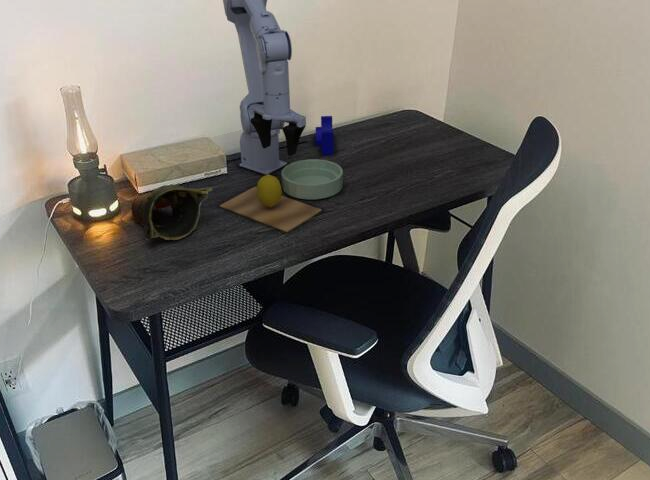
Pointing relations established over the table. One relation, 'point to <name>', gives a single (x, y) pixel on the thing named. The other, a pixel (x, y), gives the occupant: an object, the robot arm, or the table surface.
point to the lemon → (269, 190)
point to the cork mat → (271, 210)
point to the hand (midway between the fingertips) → (279, 150)
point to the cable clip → (325, 135)
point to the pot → (177, 200)
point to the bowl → (312, 179)
